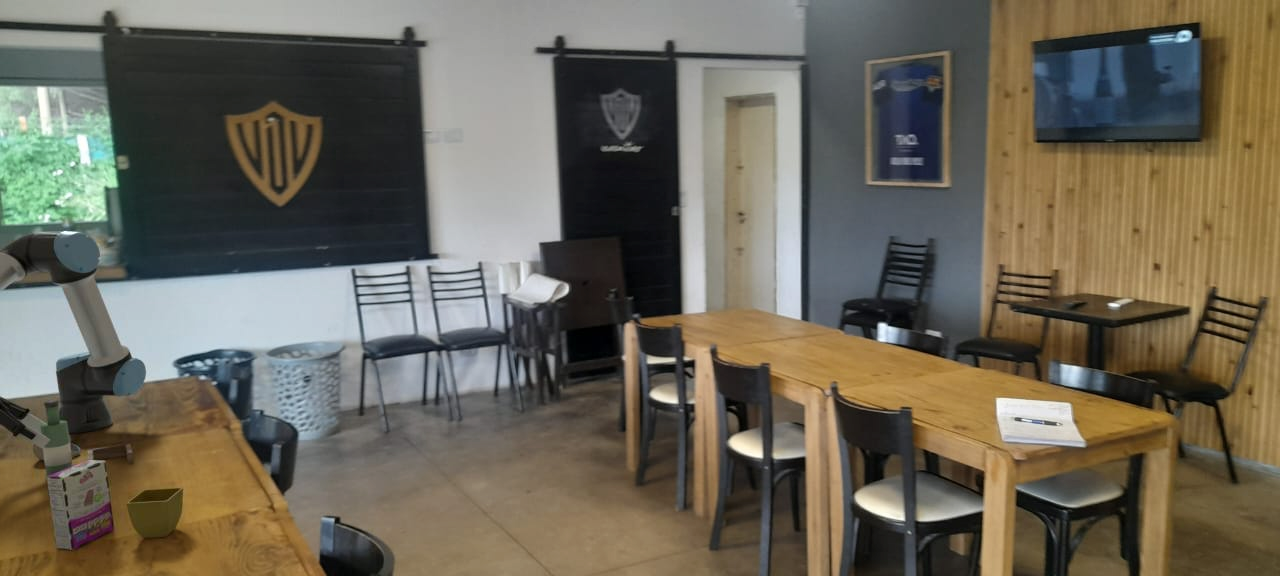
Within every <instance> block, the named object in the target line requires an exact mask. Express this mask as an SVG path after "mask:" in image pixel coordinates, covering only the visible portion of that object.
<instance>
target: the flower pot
mask: <svg viewBox="0 0 1280 576" xmlns="http://www.w3.org/2000/svg"><path fill="white" fill-rule="evenodd" d="M183 499H184V487H165V488H149V489H142V490H141V491H139V492H138V493H137V494H136V495H135V496H134V497H132V498H130V499H129V500H128V501H127V502H126V507H127V512H128V515H129V519H130V522H131V525H132V527H133V529H134V530H135V531H136V533H137V534H138V535H139V536H140V537H141V538H143V539H149V538H150V539H151V538H153V539H154V538H166V537H168V535H170V534H171V533H172V532H173V531H174V530H175V529H176V527H177V525H178V524H179V522H180V519H181V516H182V512H183V503H184V501H183Z"/></svg>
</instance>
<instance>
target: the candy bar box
mask: <svg viewBox="0 0 1280 576" xmlns="http://www.w3.org/2000/svg"><path fill="white" fill-rule="evenodd" d="M106 462H107V461H106V460H103V459H100V460H88V459H87V460H86V461H85V460H84V461H83V462H80V463H77V464H75V465H72V467H69V468H67V469H65V470H62V471H60V472H57V473H55V474H52V475H50V476H46V483H47V490H48V498H49V502H50V511H51V519H52V522H53V523H52V524H53V532H54V540H55V546H56V549H58V550H68V551H75V550H77V549H79V548H81V547H83V546H85V545H87V544H89V543H91V542H93V541H96V540H97V539H99V538H102V537H103V536H105V535H107V534H110V533H111V532H113V531H115V525H114V516H113V515H114V514H113V509H112V501H111V494H110V486H109V478H108V471H107V463H106Z"/></svg>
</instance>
